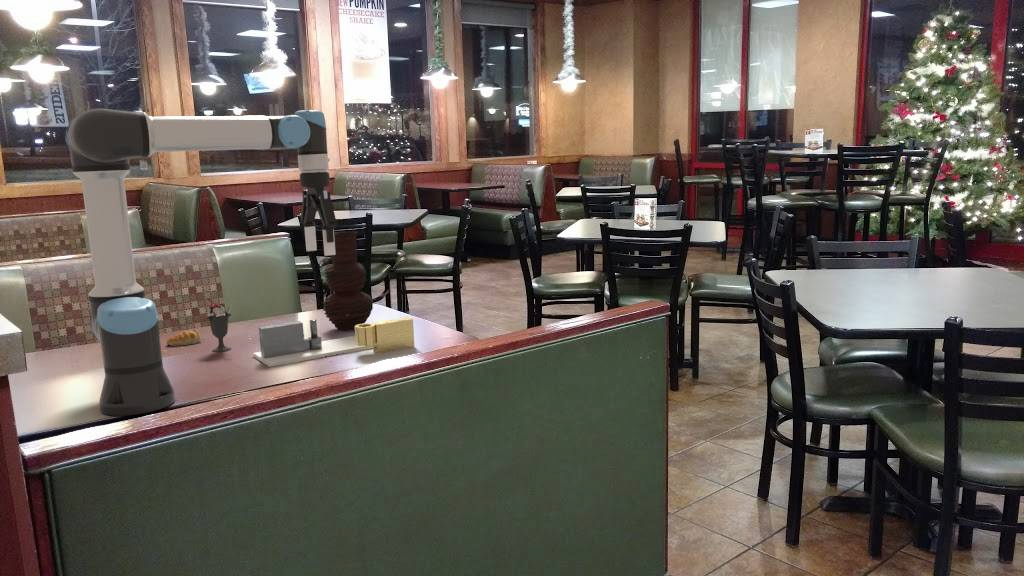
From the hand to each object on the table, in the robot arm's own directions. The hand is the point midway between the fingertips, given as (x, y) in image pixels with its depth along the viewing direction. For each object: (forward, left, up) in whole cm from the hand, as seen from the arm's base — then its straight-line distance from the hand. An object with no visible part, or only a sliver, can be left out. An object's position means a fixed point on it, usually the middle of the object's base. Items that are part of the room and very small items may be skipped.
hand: (320, 253), depth 208 cm
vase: (+18, +29, -28) cm, 44 cm away
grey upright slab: (-7, +7, -27) cm, 29 cm away
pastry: (-27, +45, -28) cm, 60 cm away
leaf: (+14, -5, -28) cm, 32 cm away
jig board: (-1, +7, -28) cm, 29 cm away
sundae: (-21, +28, -28) cm, 45 cm away
